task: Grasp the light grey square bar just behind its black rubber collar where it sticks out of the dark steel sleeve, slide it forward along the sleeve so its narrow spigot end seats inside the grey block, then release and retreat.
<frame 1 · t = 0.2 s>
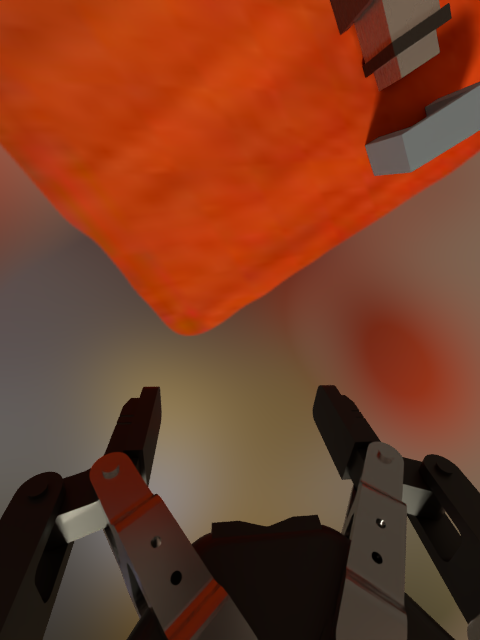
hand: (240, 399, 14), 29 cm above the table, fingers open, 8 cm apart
grey block: (405, 138, 35), on the table
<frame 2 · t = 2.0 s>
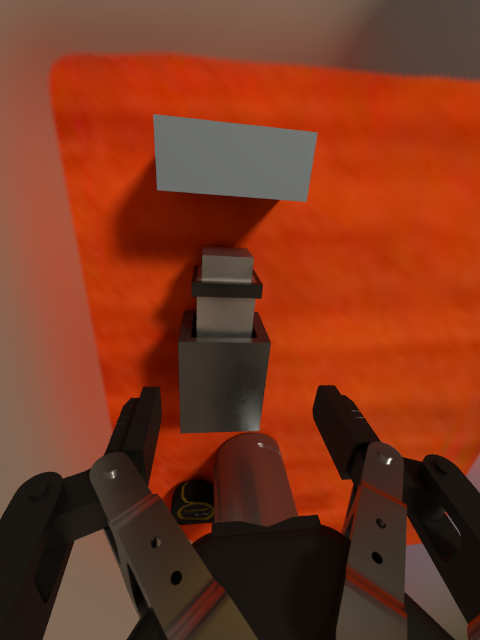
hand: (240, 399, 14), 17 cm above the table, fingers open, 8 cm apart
grey block: (228, 170, 24), on the table
light grey square bar: (222, 337, 27), point 3 cm above the table, slide at 0.0 cm
tape measure: (197, 490, 42), on the table
sleeve: (219, 352, 32), on the table
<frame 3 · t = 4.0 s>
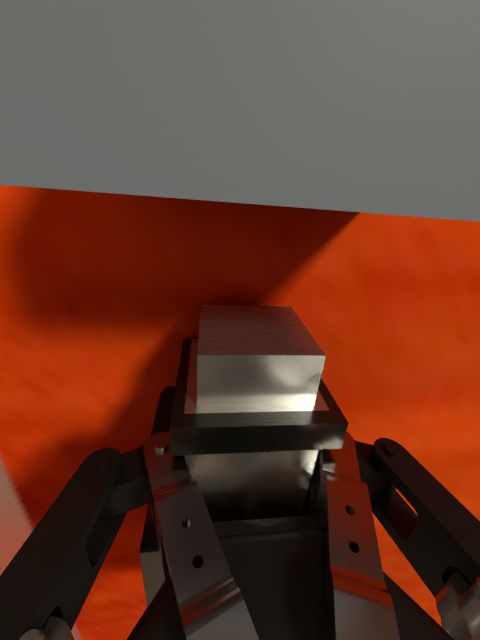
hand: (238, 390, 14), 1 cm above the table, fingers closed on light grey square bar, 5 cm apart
grey block: (258, 141, 10), on the table
light grey square bar: (238, 477, 14), point 3 cm above the table, slide at 0.0 cm, touching gripper
sleeve: (229, 469, 18), on the table
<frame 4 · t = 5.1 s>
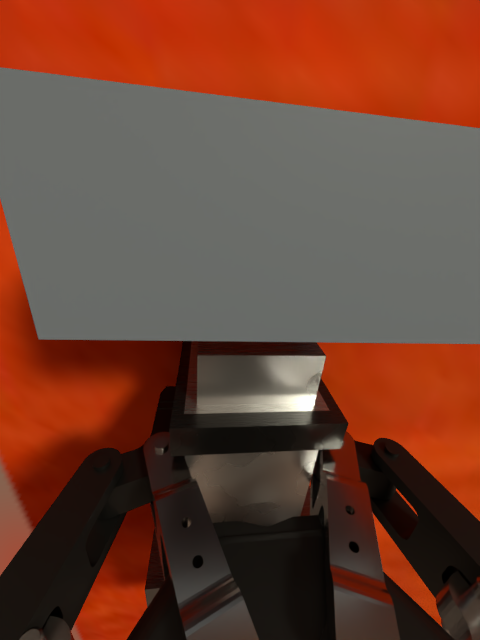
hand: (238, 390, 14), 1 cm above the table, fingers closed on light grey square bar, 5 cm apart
grey block: (252, 214, 12), on the table
light grey square bar: (238, 477, 14), point 3 cm above the table, slide at 2.6 cm, touching gripper
sleeve: (227, 494, 19), on the table
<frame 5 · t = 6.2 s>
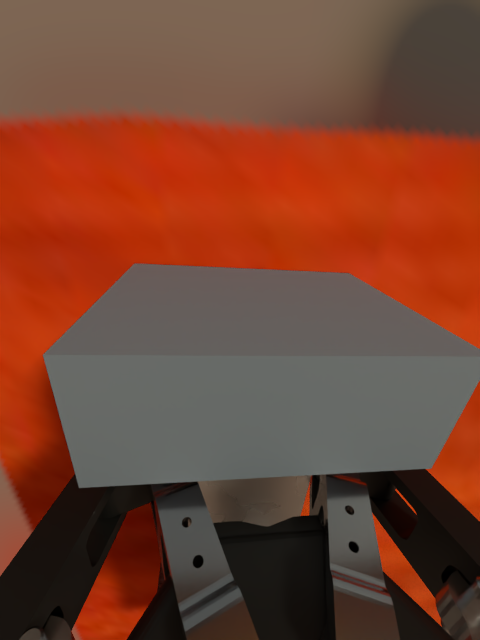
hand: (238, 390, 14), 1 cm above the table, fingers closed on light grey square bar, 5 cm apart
grey block: (243, 308, 13), on the table
light grey square bar: (238, 477, 14), point 3 cm above the table, slide at 7.0 cm, touching gripper
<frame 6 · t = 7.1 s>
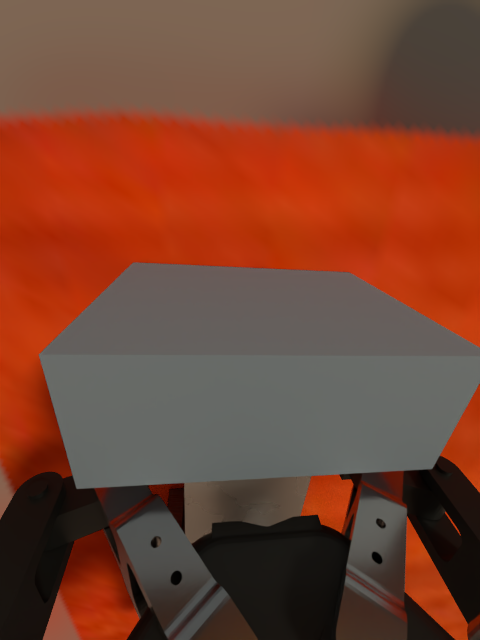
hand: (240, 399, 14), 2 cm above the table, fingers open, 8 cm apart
grey block: (243, 307, 13), on the table
light grey square bar: (238, 477, 14), point 3 cm above the table, slide at 7.0 cm
sleeve: (224, 529, 21), on the table
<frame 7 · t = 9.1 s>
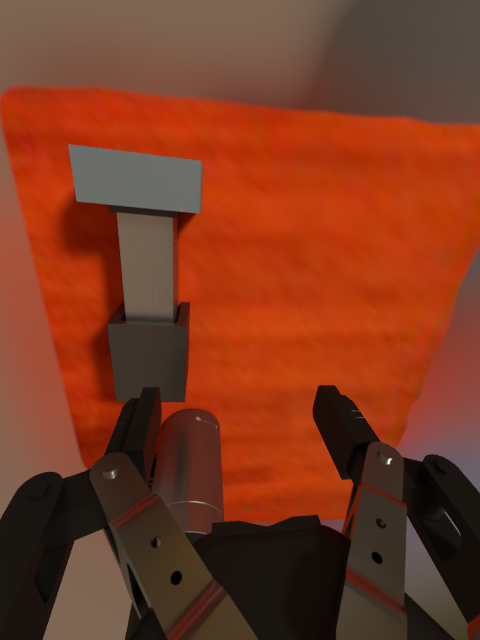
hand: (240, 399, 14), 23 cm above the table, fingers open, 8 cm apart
grey block: (154, 182, 29), on the table
light grey square bar: (151, 264, 29), point 3 cm above the table, slide at 7.0 cm
sleeve: (158, 336, 37), on the table
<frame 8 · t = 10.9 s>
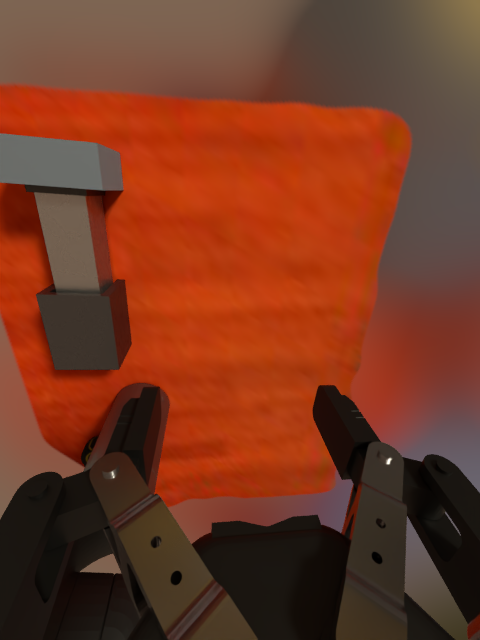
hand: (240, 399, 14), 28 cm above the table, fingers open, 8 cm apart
grey block: (77, 168, 32), on the table
light grey square bar: (77, 242, 33), point 3 cm above the table, slide at 7.0 cm
tape measure: (109, 445, 52), on the table
sleeve: (100, 313, 40), on the table
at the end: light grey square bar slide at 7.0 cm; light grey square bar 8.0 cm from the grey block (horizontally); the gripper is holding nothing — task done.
